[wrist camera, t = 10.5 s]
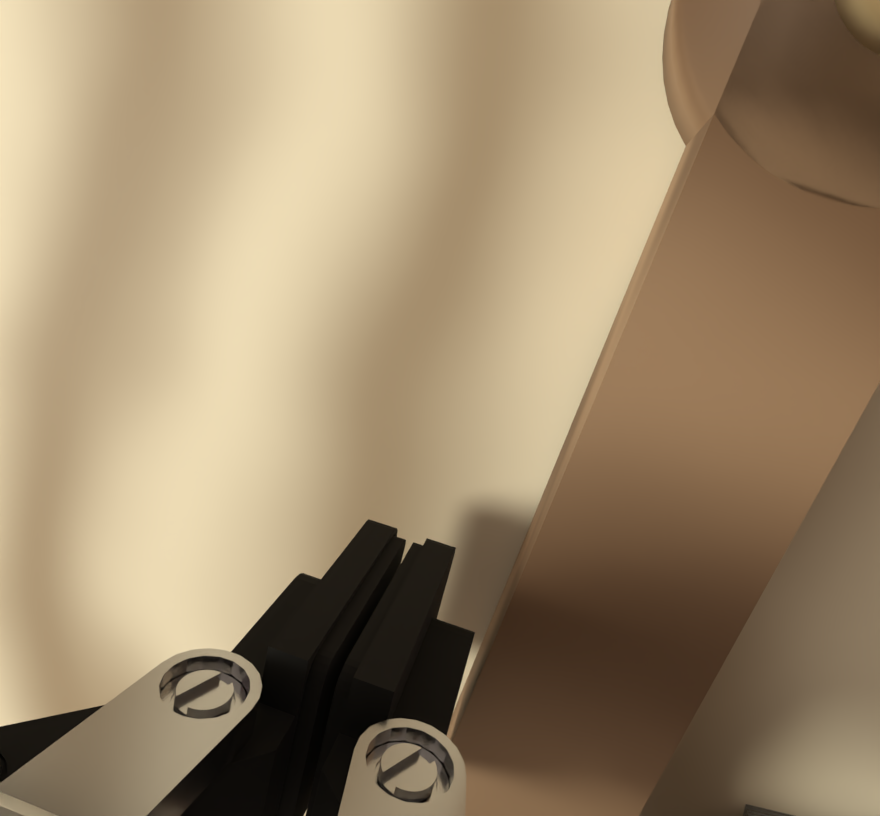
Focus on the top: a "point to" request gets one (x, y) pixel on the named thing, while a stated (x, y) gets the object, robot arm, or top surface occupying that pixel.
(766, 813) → the block
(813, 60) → the walnut link
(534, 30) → the birch board
